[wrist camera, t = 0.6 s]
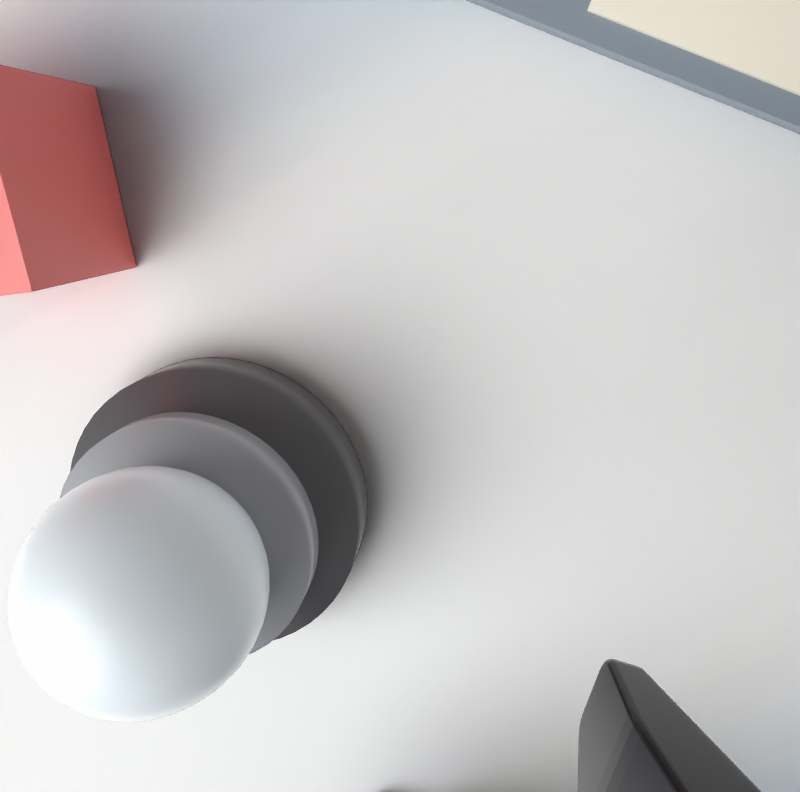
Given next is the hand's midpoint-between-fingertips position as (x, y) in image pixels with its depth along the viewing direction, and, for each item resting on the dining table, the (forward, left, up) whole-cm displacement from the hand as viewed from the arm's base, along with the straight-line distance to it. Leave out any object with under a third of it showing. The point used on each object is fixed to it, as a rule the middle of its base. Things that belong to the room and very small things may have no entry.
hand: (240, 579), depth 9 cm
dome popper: (-6, +4, -10) cm, 13 cm away
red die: (+2, +11, -13) cm, 17 cm away
